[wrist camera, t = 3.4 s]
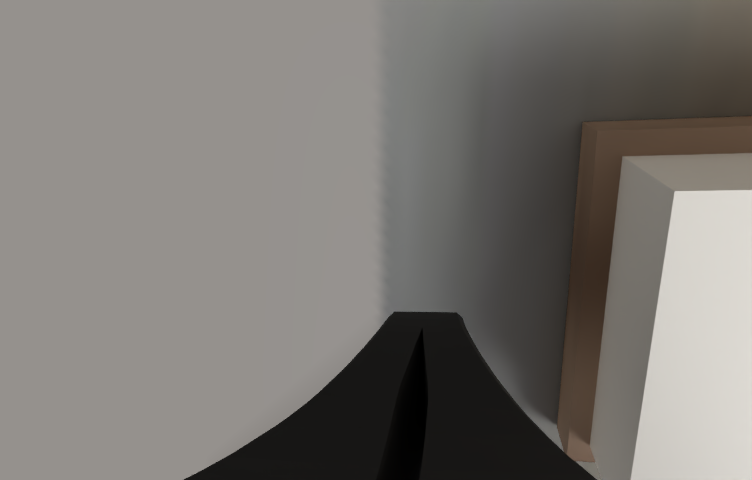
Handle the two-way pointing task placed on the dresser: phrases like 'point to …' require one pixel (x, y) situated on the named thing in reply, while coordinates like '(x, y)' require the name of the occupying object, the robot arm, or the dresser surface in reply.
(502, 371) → the dresser surface
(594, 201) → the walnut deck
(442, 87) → the dresser surface
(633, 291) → the cream tile
